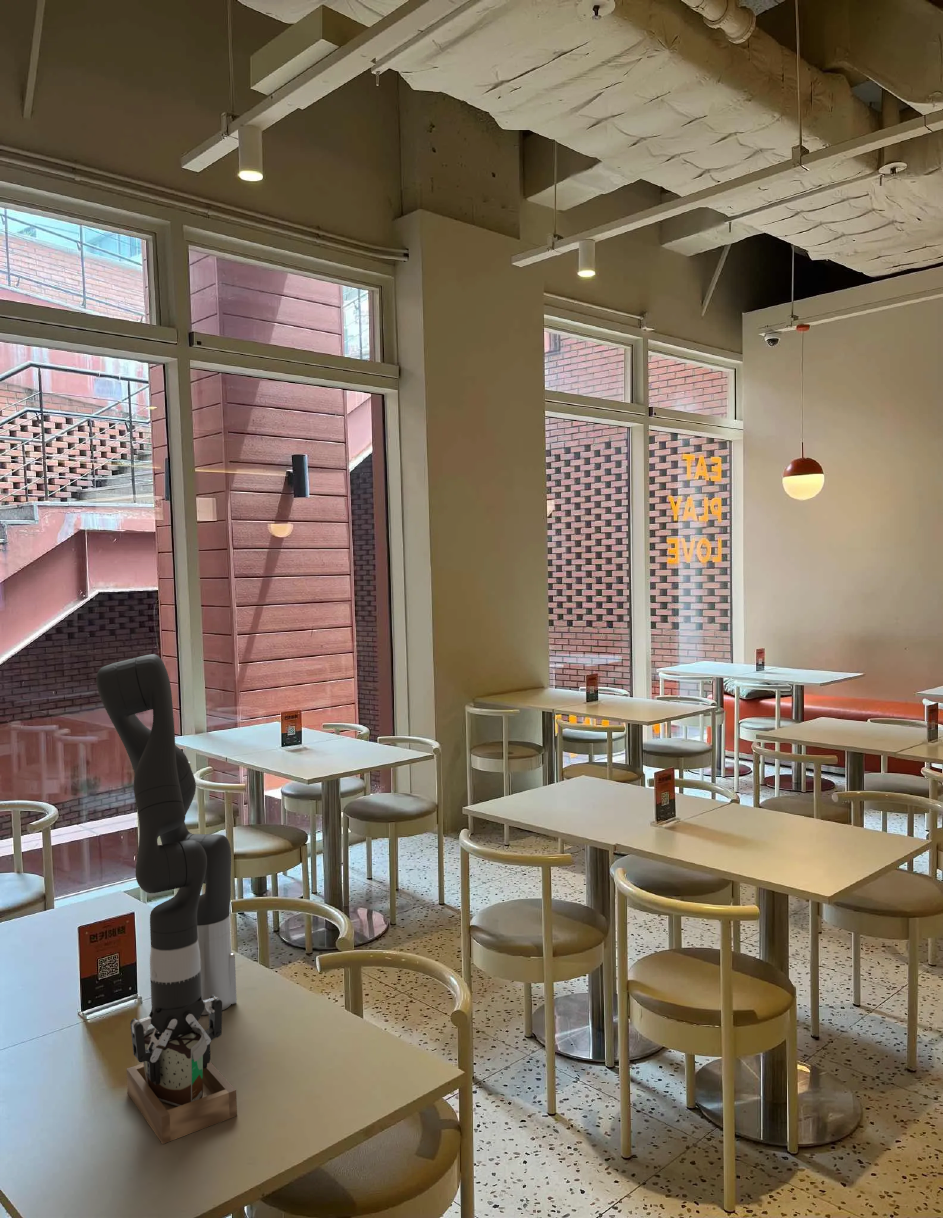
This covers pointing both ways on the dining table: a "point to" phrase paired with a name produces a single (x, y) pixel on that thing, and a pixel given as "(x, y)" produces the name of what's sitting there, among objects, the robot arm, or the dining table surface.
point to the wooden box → (187, 1117)
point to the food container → (179, 1068)
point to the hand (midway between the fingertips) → (179, 1074)
